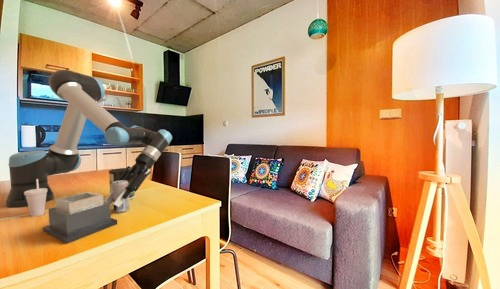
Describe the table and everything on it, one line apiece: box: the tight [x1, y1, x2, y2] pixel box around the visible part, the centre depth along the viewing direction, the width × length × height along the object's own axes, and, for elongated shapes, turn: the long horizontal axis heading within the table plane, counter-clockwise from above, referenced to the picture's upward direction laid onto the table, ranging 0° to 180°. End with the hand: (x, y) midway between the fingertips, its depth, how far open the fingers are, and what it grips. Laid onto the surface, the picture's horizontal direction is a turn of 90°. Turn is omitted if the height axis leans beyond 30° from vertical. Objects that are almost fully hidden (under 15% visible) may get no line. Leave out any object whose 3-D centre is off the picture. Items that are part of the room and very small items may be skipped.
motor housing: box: [42, 191, 118, 245], centre depth 68 cm, size 16×14×10 cm
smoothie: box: [24, 179, 48, 217], centre depth 79 cm, size 6×6×14 cm
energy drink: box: [112, 180, 130, 214], centre depth 83 cm, size 5×5×12 cm
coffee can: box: [108, 167, 136, 201], centre depth 99 cm, size 10×10×14 cm
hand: (111, 204), depth 79 cm, fingers closed on energy drink, 5 cm apart
